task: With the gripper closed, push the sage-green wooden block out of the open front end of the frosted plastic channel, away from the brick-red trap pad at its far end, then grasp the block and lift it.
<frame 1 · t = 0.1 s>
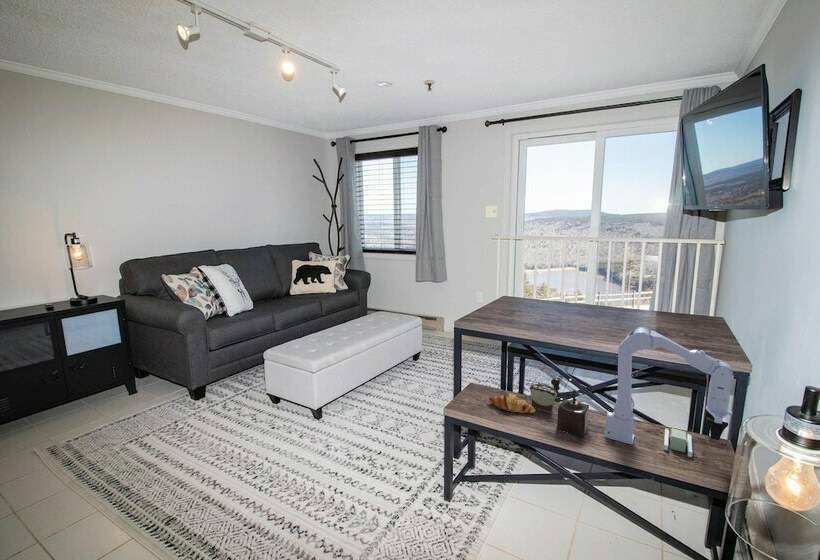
hand: (714, 434, 134), 10 cm above the bench, tool pointing down, fingers open, 7 cm apart
food container: (544, 407, 176), on the bench
block: (677, 446, 145), on the bench
croissant: (511, 409, 175), on the bench
manual coffee grinder: (566, 426, 160), on the bench
channel: (677, 444, 146), on the bench
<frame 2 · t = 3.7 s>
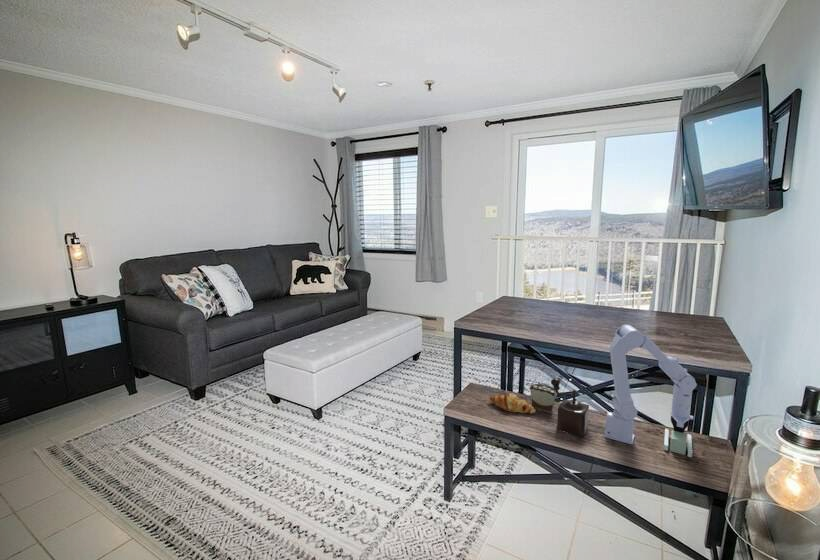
hand: (677, 436, 147), 2 cm above the bench, tool pointing down, fingers closed
block: (677, 448, 143), on the bench, touching gripper
everything else where it was.
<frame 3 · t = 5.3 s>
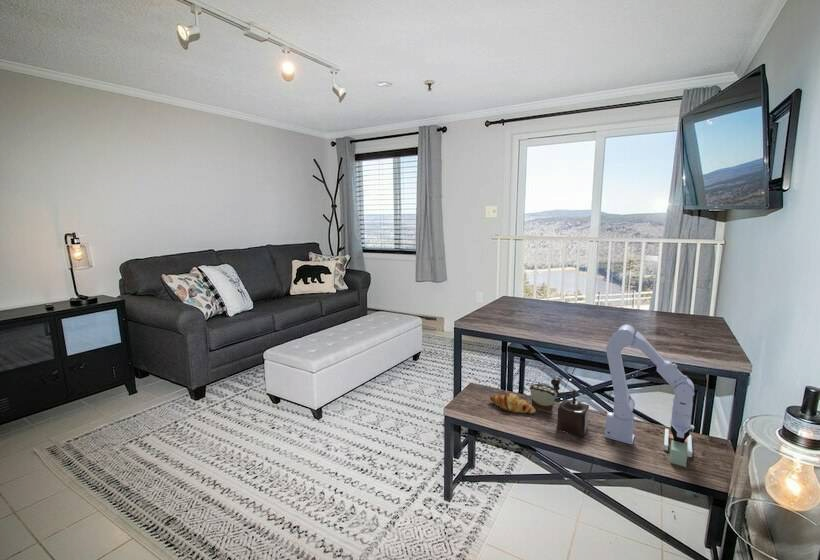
hand: (678, 447, 140), 2 cm above the bench, tool pointing down, fingers closed
block: (677, 459, 136), on the bench, touching gripper
everything else where it was.
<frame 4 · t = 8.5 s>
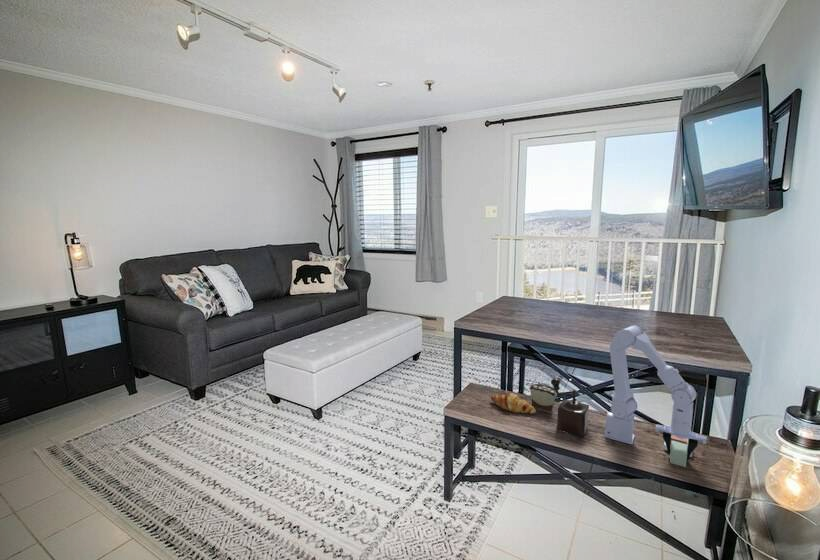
hand: (677, 455, 136), 1 cm above the bench, tool pointing down, fingers closed on block, 5 cm apart
block: (677, 460, 136), on the bench, touching gripper
everything else where it was.
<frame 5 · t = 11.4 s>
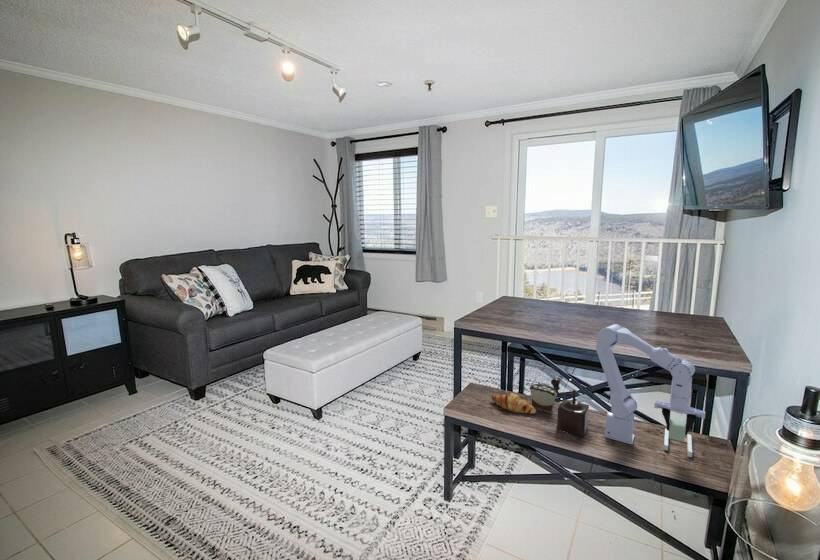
hand: (676, 431, 136), 10 cm above the bench, tool pointing down, fingers closed on block, 4 cm apart
block: (676, 435, 136), point 8 cm above the bench, touching gripper
everything else where it was.
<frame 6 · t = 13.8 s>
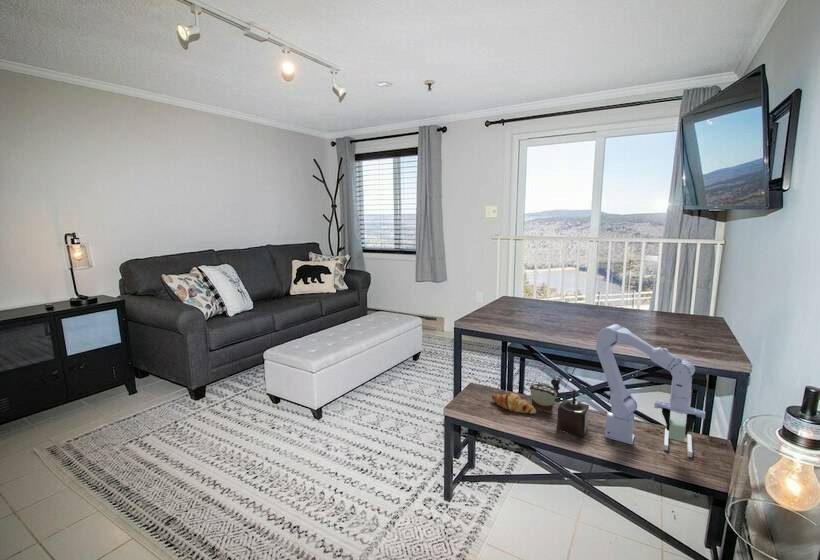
hand: (676, 431, 136), 10 cm above the bench, tool pointing down, fingers closed on block, 4 cm apart
block: (676, 435, 136), point 8 cm above the bench, touching gripper
at the end: block inside the target area (2.3 cm from its centre), point 8.4 cm above the bench; the gripper is holding block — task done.
